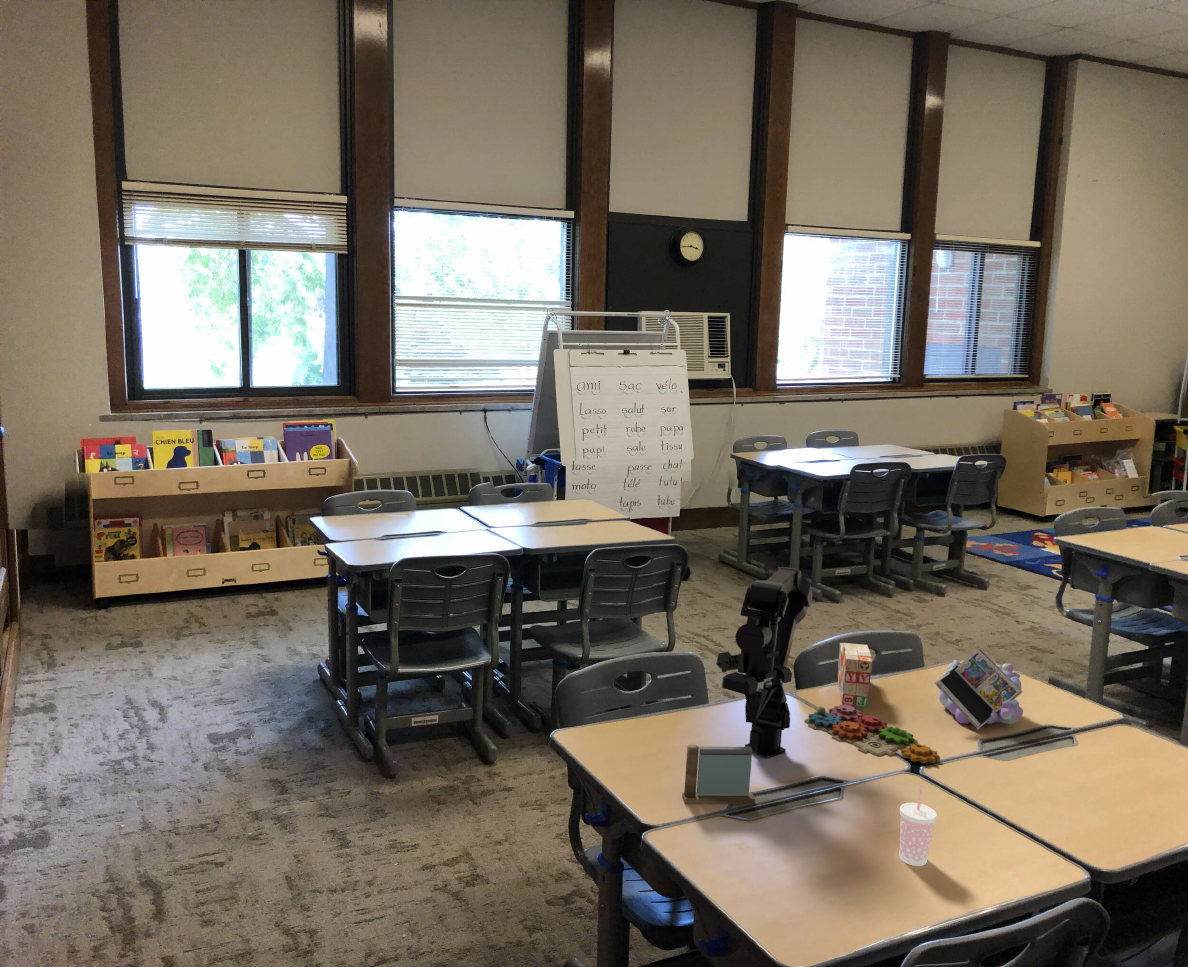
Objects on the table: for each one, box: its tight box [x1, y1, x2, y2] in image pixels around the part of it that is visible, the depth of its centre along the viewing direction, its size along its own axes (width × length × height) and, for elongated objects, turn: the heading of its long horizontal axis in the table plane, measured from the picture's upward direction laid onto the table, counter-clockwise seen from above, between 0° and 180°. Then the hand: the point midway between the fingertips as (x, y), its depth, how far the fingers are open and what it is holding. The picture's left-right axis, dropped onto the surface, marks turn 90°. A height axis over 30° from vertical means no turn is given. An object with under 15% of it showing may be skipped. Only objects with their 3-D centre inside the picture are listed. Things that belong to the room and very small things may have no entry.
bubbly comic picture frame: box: [934, 647, 1024, 730], centre depth 234 cm, size 20×22×18 cm
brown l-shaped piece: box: [681, 743, 756, 805], centre depth 187 cm, size 3×14×11 cm, turn 95°
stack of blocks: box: [837, 642, 873, 709], centre depth 248 cm, size 21×6×12 cm, turn 169°
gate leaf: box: [696, 746, 753, 795], centre depth 187 cm, size 1×10×9 cm, turn 95°
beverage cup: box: [899, 783, 938, 867], centre depth 169 cm, size 6×6×14 cm
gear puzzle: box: [803, 704, 941, 764], centre depth 220 cm, size 31×16×4 cm, turn 36°
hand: (753, 719), depth 198 cm, fingers closed
